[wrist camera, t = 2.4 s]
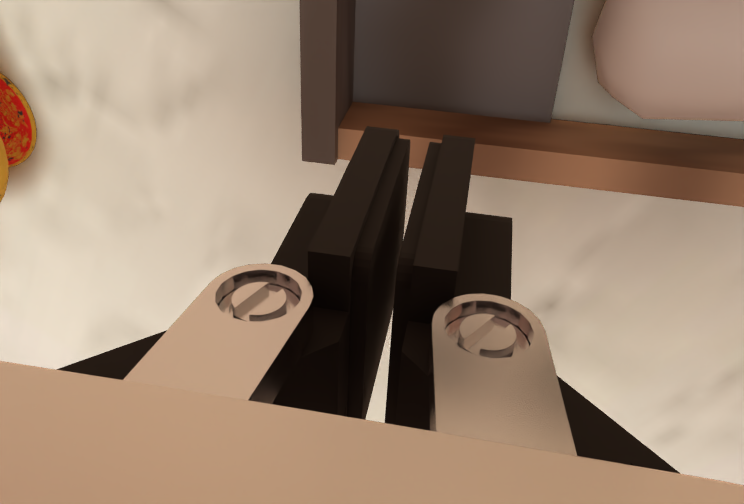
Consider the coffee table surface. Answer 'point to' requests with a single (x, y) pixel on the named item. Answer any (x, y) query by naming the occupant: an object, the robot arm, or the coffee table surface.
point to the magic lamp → (14, 130)
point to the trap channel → (485, 98)
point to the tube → (673, 57)
